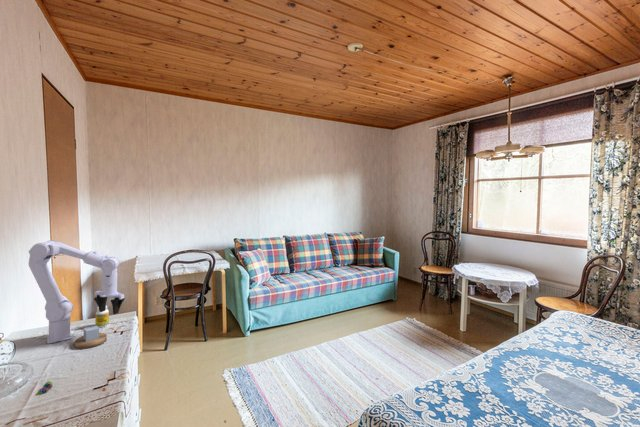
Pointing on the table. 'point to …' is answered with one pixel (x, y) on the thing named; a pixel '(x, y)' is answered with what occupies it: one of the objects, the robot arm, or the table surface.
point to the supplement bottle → (102, 318)
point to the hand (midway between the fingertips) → (109, 312)
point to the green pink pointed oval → (45, 388)
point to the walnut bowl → (90, 342)
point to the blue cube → (91, 333)
